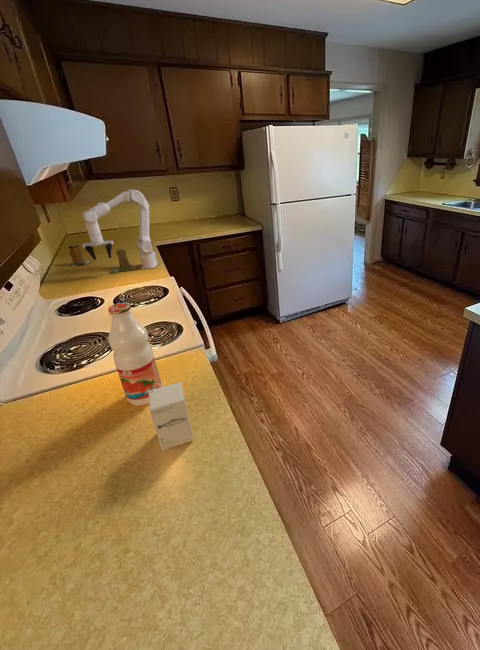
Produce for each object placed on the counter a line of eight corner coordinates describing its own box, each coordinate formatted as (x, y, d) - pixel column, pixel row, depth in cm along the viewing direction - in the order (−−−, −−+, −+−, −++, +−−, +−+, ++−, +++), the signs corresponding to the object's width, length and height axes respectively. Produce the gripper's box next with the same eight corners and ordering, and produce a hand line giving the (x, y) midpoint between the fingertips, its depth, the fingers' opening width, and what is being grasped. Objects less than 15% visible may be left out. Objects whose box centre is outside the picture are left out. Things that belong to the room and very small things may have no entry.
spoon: (138, 268, 197) (138, 266, 196) (137, 270, 193) (137, 268, 192) (111, 271, 193) (110, 269, 192) (109, 273, 189) (109, 271, 189)
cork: (132, 265, 201) (128, 248, 197) (127, 269, 196) (122, 251, 191) (123, 265, 202) (118, 248, 197) (117, 269, 197) (112, 251, 192)
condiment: (76, 262, 211) (70, 244, 206) (90, 261, 212) (84, 243, 207) (71, 266, 205) (64, 247, 200) (85, 265, 206) (79, 246, 201)
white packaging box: (161, 452, 75) (148, 410, 69) (159, 430, 81) (147, 389, 75) (194, 441, 77) (184, 399, 72) (190, 420, 83) (181, 380, 78)
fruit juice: (169, 385, 96) (147, 298, 84) (152, 408, 88) (124, 315, 76) (140, 383, 98) (114, 297, 86) (120, 405, 89) (87, 314, 77)
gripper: (77, 237, 170) (85, 262, 176) (108, 234, 173) (115, 259, 179) (81, 234, 176) (89, 258, 182) (111, 231, 180) (118, 255, 185)
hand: (102, 258), depth 181 cm, fingers open, 7 cm apart
